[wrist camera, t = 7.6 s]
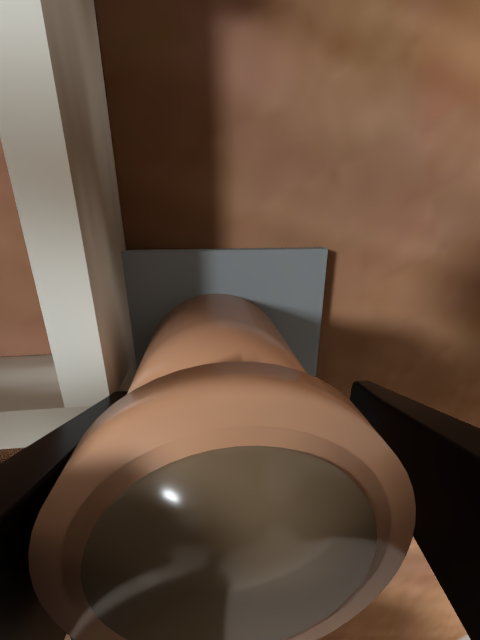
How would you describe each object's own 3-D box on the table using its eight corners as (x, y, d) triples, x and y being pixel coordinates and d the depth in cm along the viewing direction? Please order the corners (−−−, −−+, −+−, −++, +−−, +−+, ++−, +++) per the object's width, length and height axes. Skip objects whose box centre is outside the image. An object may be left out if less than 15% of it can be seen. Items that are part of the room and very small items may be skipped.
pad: (305, 425, 13) (310, 434, 13) (126, 440, 12) (122, 450, 12) (321, 247, 11) (328, 249, 10) (95, 250, 10) (88, 252, 9)
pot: (287, 415, 12) (385, 647, 6) (146, 426, 12) (69, 704, 5) (295, 280, 10) (461, 387, 4) (128, 284, 10) (-37, 424, 3)
